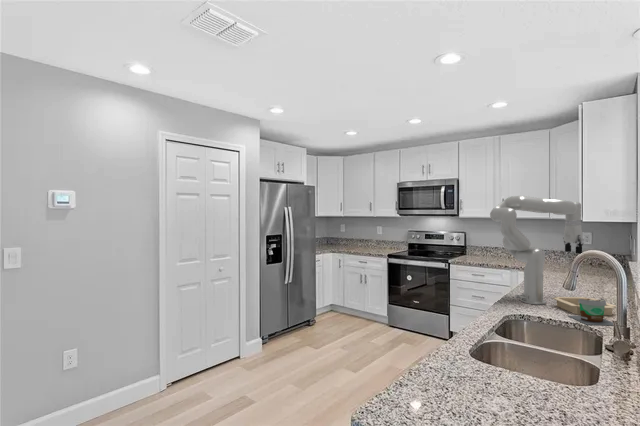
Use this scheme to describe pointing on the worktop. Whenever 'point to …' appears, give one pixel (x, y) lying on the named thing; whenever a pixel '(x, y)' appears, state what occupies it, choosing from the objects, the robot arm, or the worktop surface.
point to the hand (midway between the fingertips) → (573, 252)
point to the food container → (592, 310)
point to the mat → (604, 323)
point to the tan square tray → (574, 307)
